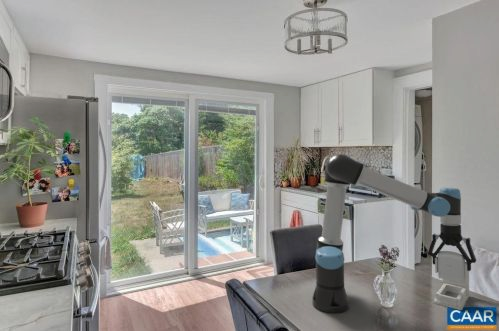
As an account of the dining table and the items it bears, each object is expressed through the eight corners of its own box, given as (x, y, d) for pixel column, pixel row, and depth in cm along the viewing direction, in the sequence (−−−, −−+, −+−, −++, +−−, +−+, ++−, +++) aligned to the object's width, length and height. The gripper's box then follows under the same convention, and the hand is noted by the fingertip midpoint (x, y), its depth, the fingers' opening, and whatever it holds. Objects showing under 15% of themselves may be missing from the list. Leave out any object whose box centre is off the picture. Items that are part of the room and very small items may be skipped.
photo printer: (436, 278, 136) (436, 250, 136) (440, 275, 139) (439, 248, 139) (463, 285, 128) (463, 255, 128) (467, 282, 131) (466, 253, 131)
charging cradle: (433, 303, 131) (433, 270, 131) (443, 289, 144) (443, 260, 144) (461, 310, 124) (461, 276, 124) (469, 296, 137) (469, 264, 137)
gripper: (484, 225, 128) (485, 278, 128) (423, 219, 144) (424, 266, 144) (482, 228, 122) (482, 284, 123) (419, 222, 138) (419, 271, 139)
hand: (451, 274), depth 133 cm, fingers closed on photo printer, 10 cm apart
